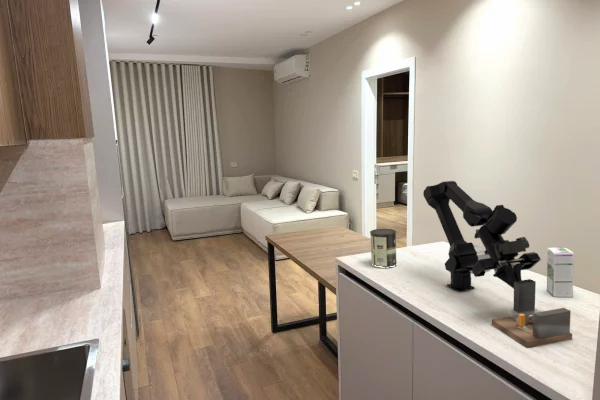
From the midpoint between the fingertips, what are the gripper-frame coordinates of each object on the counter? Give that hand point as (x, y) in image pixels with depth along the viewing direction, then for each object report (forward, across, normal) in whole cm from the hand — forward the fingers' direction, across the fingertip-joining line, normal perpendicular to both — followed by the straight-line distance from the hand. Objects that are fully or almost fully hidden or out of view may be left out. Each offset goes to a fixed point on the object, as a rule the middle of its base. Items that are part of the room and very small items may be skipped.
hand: (521, 291), depth 112 cm
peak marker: (+8, -4, +1) cm, 9 cm away
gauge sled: (+7, -1, +3) cm, 8 cm away
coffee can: (-37, -14, +49) cm, 63 cm away
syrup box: (-2, +25, +15) cm, 29 cm away
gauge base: (+10, -2, +3) cm, 10 cm away
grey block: (-25, +15, +38) cm, 48 cm away
